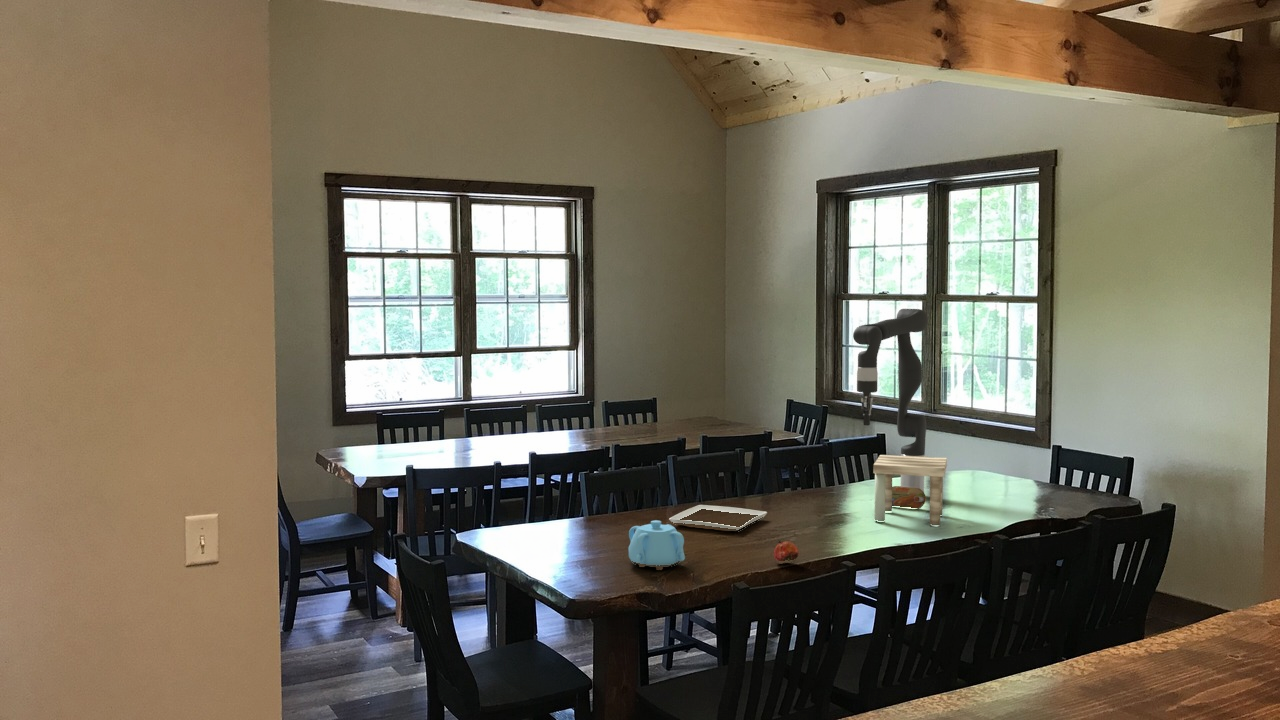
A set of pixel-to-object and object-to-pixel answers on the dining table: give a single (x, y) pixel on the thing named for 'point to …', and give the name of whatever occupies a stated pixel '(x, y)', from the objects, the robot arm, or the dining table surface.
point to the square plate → (716, 508)
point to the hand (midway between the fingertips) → (866, 425)
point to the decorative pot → (656, 544)
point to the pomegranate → (785, 551)
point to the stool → (916, 467)
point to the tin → (908, 497)
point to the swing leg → (880, 497)
